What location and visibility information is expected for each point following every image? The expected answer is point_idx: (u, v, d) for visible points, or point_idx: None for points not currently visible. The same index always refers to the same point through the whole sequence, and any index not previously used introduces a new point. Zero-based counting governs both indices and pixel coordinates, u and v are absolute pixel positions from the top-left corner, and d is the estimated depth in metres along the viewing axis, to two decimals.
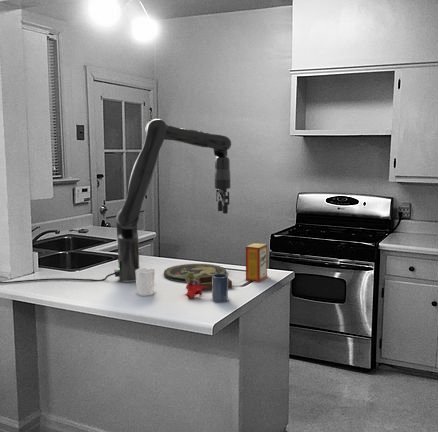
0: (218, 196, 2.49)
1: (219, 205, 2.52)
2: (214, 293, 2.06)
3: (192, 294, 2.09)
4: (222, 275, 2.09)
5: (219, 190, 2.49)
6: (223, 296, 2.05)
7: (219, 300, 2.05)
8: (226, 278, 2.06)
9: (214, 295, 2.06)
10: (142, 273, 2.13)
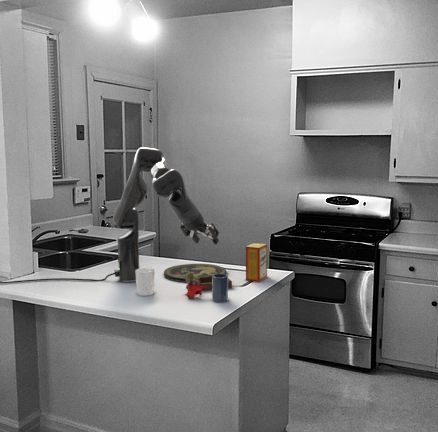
0: None
1: None
2: (214, 293, 2.06)
3: (192, 294, 2.09)
4: (222, 275, 2.09)
5: None
6: (223, 296, 2.05)
7: (219, 300, 2.05)
8: (226, 278, 2.06)
9: (214, 295, 2.06)
10: (142, 273, 2.13)
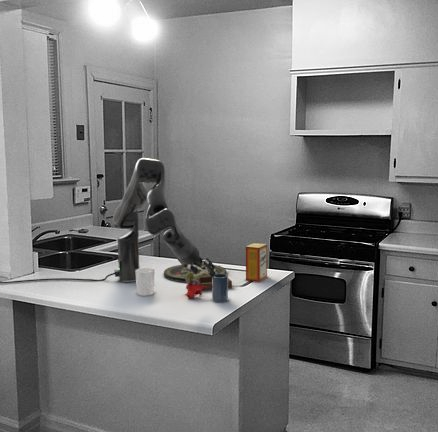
0: None
1: None
2: (214, 293, 2.06)
3: (192, 294, 2.09)
4: (222, 275, 2.09)
5: None
6: (223, 296, 2.05)
7: (219, 300, 2.05)
8: (226, 278, 2.06)
9: (214, 295, 2.06)
10: (142, 273, 2.13)
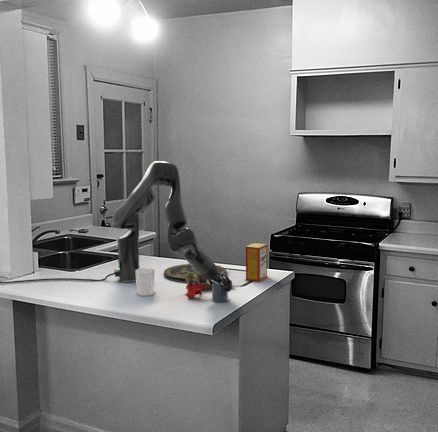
0: None
1: None
2: (214, 293, 2.06)
3: (192, 294, 2.09)
4: (222, 275, 2.09)
5: None
6: (223, 296, 2.05)
7: (219, 300, 2.05)
8: None
9: (214, 295, 2.06)
10: (142, 273, 2.13)
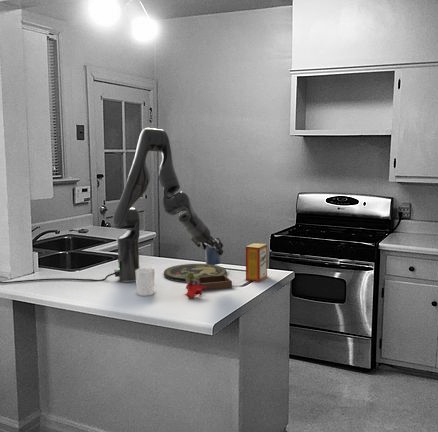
0: None
1: None
2: (207, 256, 2.19)
3: (192, 294, 2.09)
4: None
5: None
6: (216, 259, 2.18)
7: (212, 263, 2.18)
8: None
9: (207, 258, 2.19)
10: (142, 273, 2.13)
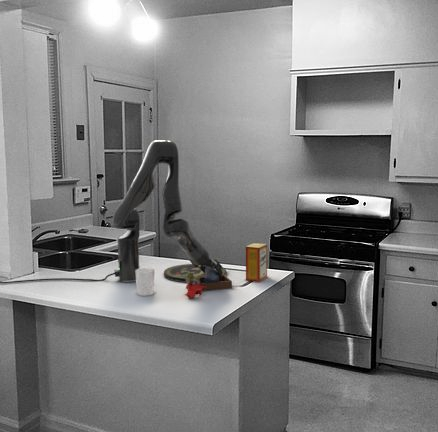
0: None
1: None
2: (206, 279, 2.25)
3: (192, 294, 2.09)
4: None
5: None
6: (214, 281, 2.25)
7: None
8: None
9: (206, 280, 2.25)
10: (142, 273, 2.13)
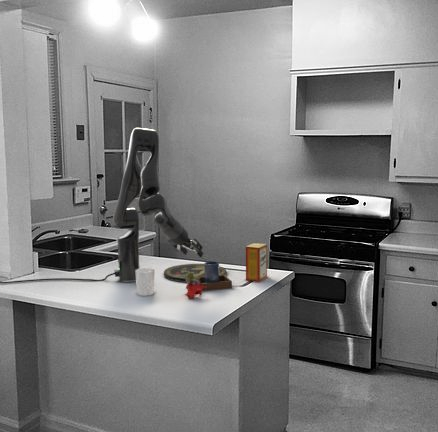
0: None
1: None
2: (206, 279, 2.25)
3: (192, 294, 2.09)
4: (214, 262, 2.29)
5: None
6: (214, 281, 2.25)
7: None
8: (217, 265, 2.25)
9: (206, 280, 2.25)
10: (142, 273, 2.13)
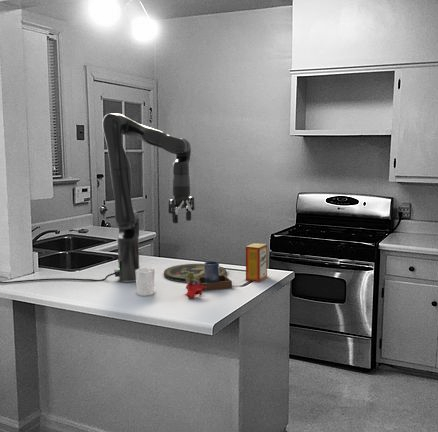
0: None
1: (187, 214, 2.31)
2: (206, 279, 2.25)
3: (192, 294, 2.09)
4: (214, 262, 2.29)
5: None
6: (214, 281, 2.25)
7: None
8: (217, 265, 2.25)
9: (206, 280, 2.25)
10: (142, 273, 2.13)
